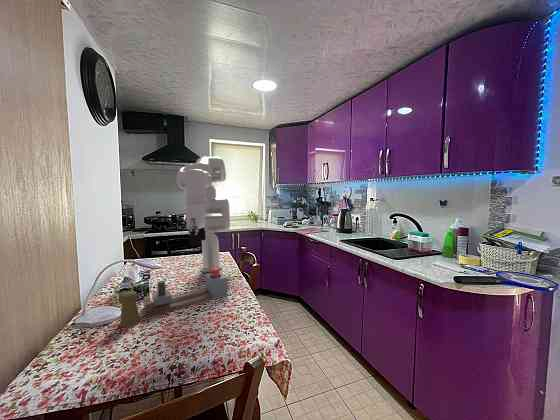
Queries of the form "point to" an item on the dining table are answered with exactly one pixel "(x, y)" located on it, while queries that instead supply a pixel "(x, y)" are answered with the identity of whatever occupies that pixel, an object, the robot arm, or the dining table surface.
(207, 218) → the robot arm
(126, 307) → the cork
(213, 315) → the dining table surface
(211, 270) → the button
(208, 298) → the board
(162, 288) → the carriage
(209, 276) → the end cabinet
